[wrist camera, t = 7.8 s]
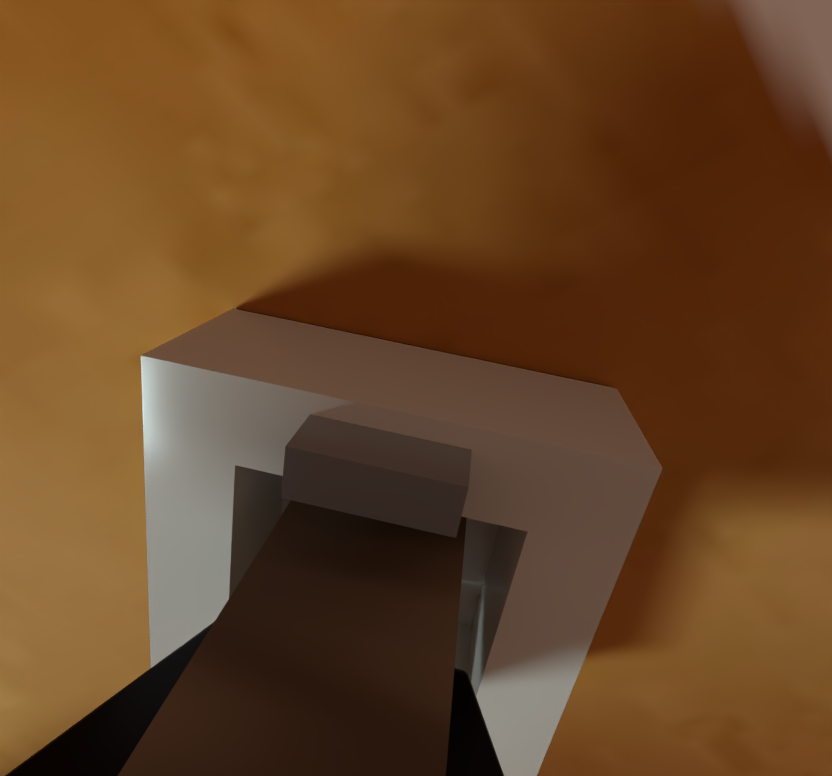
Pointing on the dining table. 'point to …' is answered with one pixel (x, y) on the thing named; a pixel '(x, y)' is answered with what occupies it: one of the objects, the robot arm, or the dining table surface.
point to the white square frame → (397, 490)
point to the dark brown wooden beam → (321, 658)
